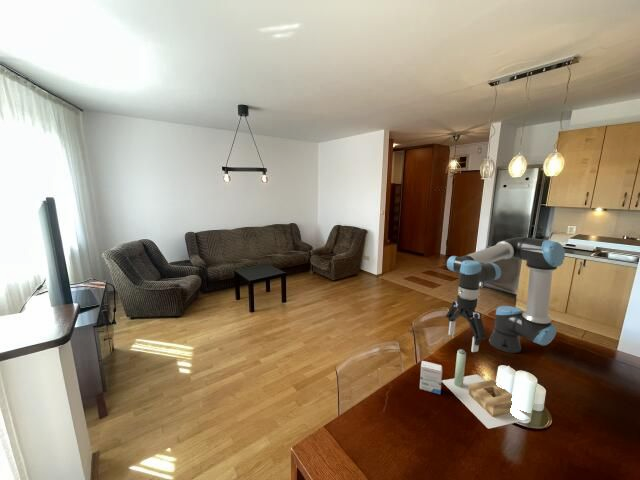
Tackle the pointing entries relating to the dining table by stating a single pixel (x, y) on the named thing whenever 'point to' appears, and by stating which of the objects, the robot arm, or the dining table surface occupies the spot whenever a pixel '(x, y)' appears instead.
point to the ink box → (431, 377)
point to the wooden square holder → (491, 397)
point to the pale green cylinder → (460, 368)
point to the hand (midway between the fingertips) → (462, 342)
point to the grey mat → (473, 406)
